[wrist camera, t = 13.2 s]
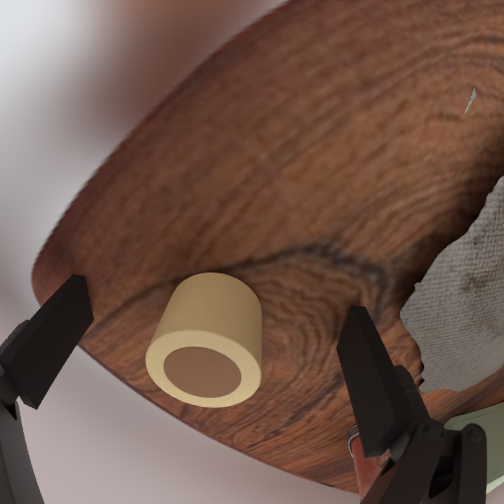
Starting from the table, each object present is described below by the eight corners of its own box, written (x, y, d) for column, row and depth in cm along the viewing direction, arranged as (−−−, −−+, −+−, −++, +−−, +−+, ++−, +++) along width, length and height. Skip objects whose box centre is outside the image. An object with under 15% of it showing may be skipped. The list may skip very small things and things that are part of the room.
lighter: (391, 449, 20) (412, 534, 11) (358, 461, 21) (373, 547, 12) (381, 415, 18) (411, 530, 8) (339, 430, 18) (356, 546, 9)
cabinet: (454, 457, 24) (470, 503, 16) (393, 474, 24) (405, 530, 16) (510, 399, 19) (538, 452, 11) (450, 417, 19) (478, 489, 11)
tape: (267, 277, 13) (269, 338, 9) (256, 350, 15) (254, 413, 11) (169, 266, 13) (137, 321, 9) (173, 339, 15) (152, 398, 11)
